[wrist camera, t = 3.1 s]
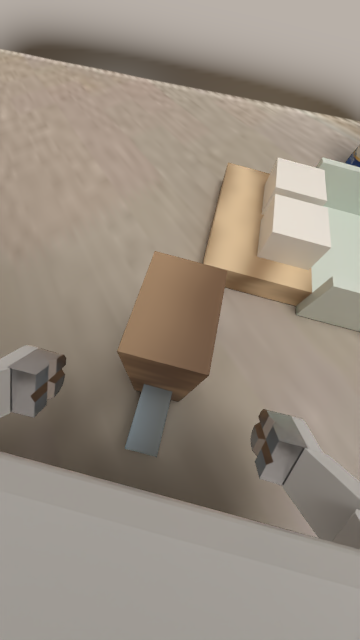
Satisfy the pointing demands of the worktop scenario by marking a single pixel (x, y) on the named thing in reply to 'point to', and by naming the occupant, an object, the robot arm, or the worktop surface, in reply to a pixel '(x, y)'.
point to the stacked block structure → (169, 340)
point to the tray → (338, 252)
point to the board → (250, 242)
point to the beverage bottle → (354, 158)
